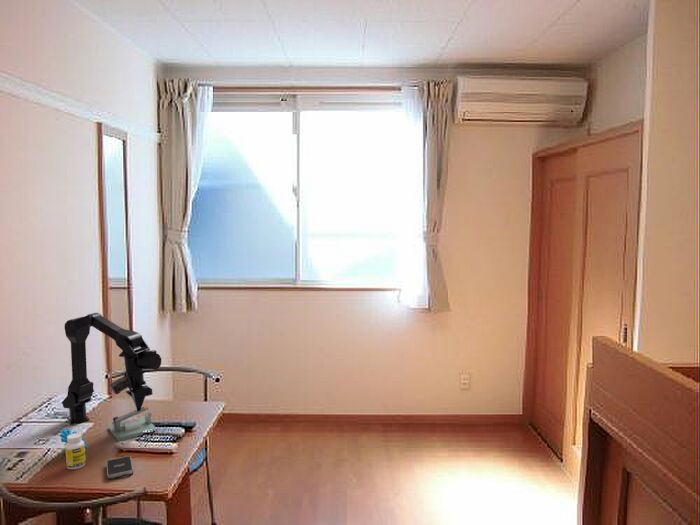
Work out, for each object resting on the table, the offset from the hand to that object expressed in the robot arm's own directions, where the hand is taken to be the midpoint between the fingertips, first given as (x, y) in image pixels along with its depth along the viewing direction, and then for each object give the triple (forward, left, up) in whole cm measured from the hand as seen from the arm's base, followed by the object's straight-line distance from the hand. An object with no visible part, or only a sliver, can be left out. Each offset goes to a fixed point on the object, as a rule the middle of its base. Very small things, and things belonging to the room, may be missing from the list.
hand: (138, 410), depth 199 cm
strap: (0, -2, -1) cm, 3 cm away
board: (0, -3, -7) cm, 7 cm away
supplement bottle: (+18, -24, -7) cm, 31 cm away
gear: (+6, -22, -7) cm, 24 cm away
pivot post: (0, -8, -7) cm, 10 cm away
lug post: (0, +3, -7) cm, 7 cm away
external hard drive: (+30, -14, -7) cm, 34 cm away
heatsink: (0, -3, -6) cm, 6 cm away
